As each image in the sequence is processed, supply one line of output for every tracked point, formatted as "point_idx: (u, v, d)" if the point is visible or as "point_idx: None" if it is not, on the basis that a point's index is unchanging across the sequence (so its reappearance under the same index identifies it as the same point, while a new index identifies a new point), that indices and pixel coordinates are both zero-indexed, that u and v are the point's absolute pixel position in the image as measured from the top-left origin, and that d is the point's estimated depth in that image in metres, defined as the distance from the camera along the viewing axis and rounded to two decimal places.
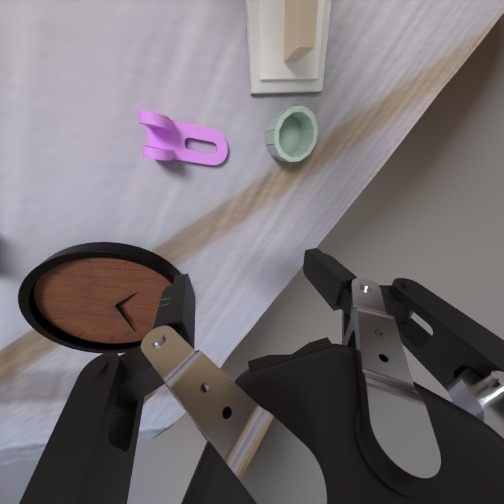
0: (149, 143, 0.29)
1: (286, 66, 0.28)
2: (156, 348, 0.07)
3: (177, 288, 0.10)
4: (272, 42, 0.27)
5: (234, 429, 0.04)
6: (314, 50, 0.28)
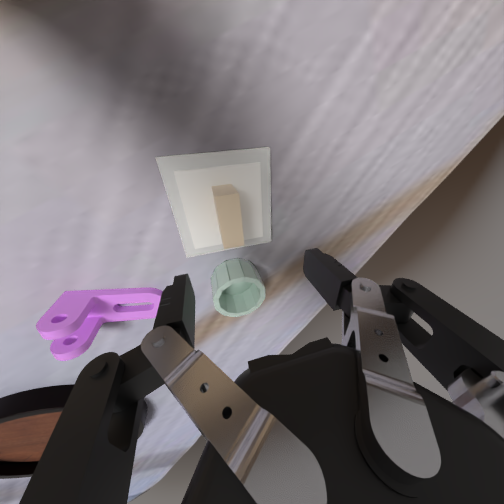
0: None
1: None
2: (156, 348, 0.07)
3: (177, 288, 0.09)
4: (202, 219, 0.23)
5: (234, 429, 0.04)
6: (255, 217, 0.25)
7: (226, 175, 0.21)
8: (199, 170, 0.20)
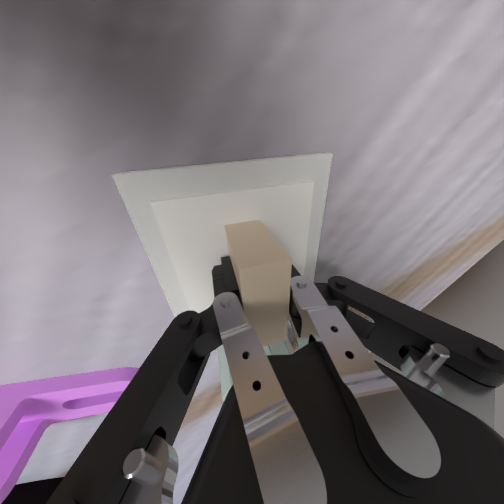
0: None
1: None
2: (227, 307, 0.08)
3: (226, 266, 0.11)
4: (207, 278, 0.13)
5: (258, 402, 0.05)
6: None
7: (251, 206, 0.11)
8: (202, 198, 0.10)
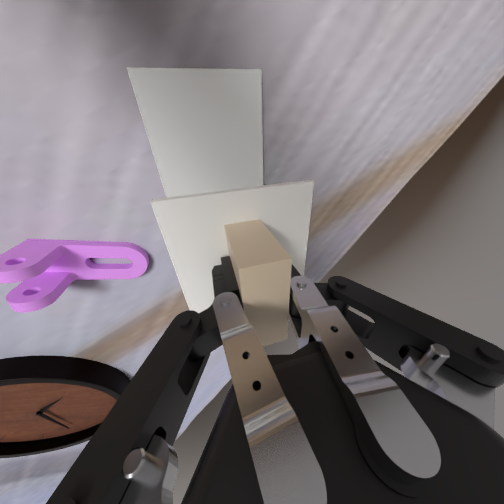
0: None
1: None
2: (227, 307, 0.08)
3: (226, 266, 0.11)
4: (207, 278, 0.13)
5: (258, 402, 0.05)
6: None
7: (251, 205, 0.11)
8: (202, 198, 0.10)
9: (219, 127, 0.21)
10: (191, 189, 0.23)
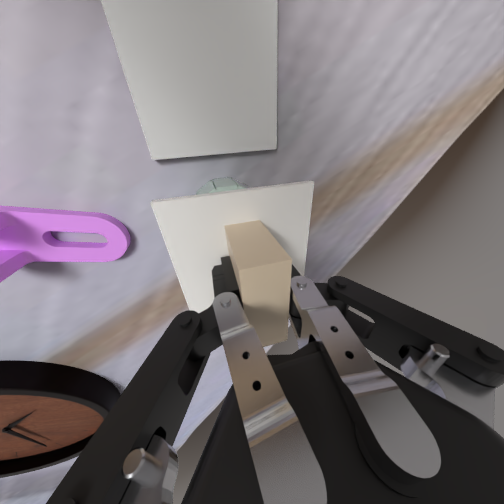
0: None
1: None
2: (227, 307, 0.08)
3: (226, 266, 0.11)
4: (207, 279, 0.13)
5: (258, 403, 0.05)
6: None
7: (251, 206, 0.11)
8: (202, 198, 0.10)
9: (218, 40, 0.15)
10: (181, 137, 0.17)
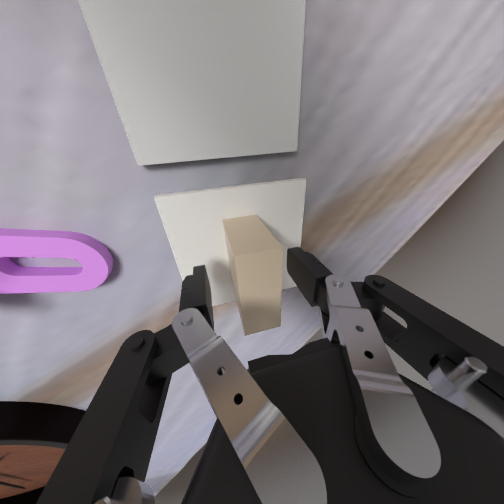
0: None
1: None
2: (186, 326, 0.07)
3: (197, 277, 0.10)
4: (206, 270, 0.14)
5: (243, 416, 0.04)
6: None
7: (247, 201, 0.12)
8: (201, 193, 0.11)
9: (225, 0, 0.11)
10: (175, 135, 0.13)
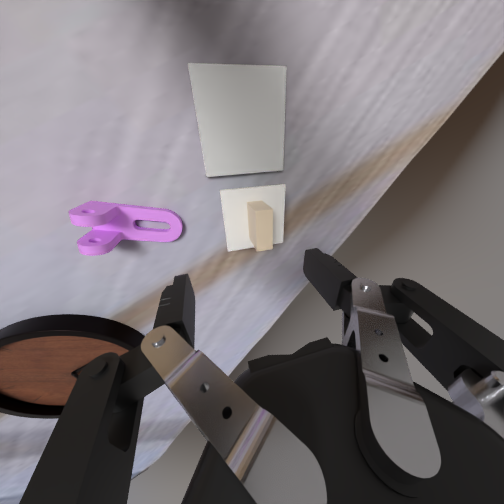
0: (93, 227, 0.28)
1: None
2: (156, 348, 0.07)
3: (177, 288, 0.10)
4: (237, 228, 0.29)
5: (234, 429, 0.04)
6: (277, 226, 0.31)
7: (258, 194, 0.27)
8: (239, 190, 0.26)
9: (251, 111, 0.26)
10: (225, 163, 0.28)
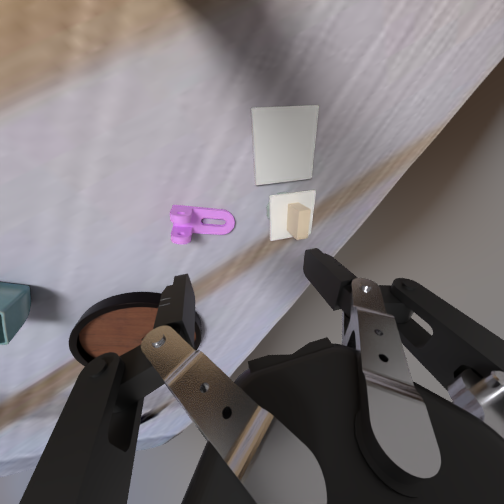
0: (174, 224, 0.38)
1: (288, 232, 0.41)
2: (156, 348, 0.07)
3: (177, 288, 0.09)
4: (279, 223, 0.39)
5: (234, 429, 0.04)
6: None
7: (296, 197, 0.37)
8: (283, 195, 0.36)
9: (292, 137, 0.35)
10: (270, 175, 0.38)
